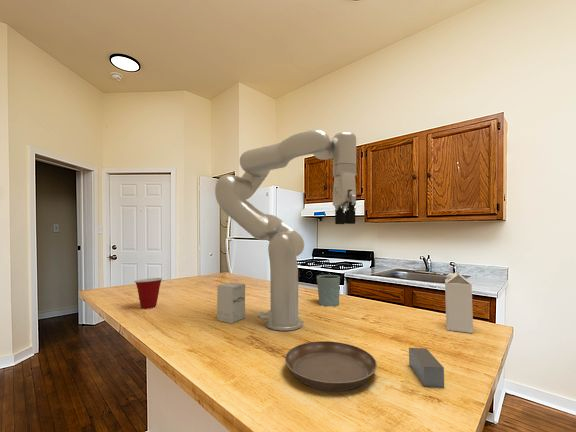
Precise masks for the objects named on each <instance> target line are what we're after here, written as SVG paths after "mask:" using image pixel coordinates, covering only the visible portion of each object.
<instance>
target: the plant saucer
mask: <svg viewBox="0 0 576 432" xmlns="http://www.w3.org/2000/svg"><path fill="white" fill-rule="evenodd" d="M284 362H285V364H286V367H287V368H288V369H289V371H290V372H291V373H292V375H293V376H294V377H295V378H296V379H298V380H299V382H301V383H303V384H305V385H307V386H309V387H311V388H314V389H316V390H317V389H318V390H323V391H329V390H330V391H331V392H332V391H333V392H340V391H348V390H352V389H356V388H358V387H360V386H362V385H364V384H365V383H366V382H368V381H369V380H370V379H371V377H373V375H374V374H375V372H376V370H377V368H378V363H377V361H376V359H375V357H374V356H373V355H372V354H371V353H369V351H366V350H364V349H363V348H360V347H359V346H355V345H353V344H348V343H344V342H338V341H328V340H327V341H326V340H325V341H324V340H321V341H319V340H318V341H310V342H306V343H305V342H304V343H302V344H298V345H296V346H294V347H292V348H290V350H288V351H287V352H286V354H285V357H284ZM330 391H329V392H330Z"/></svg>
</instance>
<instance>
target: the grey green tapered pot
mask: <svg viewBox="0 0 576 432" xmlns="http://www.w3.org/2000/svg"><path fill="white" fill-rule="evenodd" d="M316 283H317V294H318V304H319V305H320V306H322V305H323V307H327V306H333V307H337V306H339V305H340V287H341V286H340V283H341V276H340V275H338V274H337V275H336V274H335V275H334V274H319V275H316Z"/></svg>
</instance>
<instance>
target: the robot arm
mask: <svg viewBox="0 0 576 432" xmlns="http://www.w3.org/2000/svg"><path fill="white" fill-rule="evenodd" d="M308 155H313V156H314V157H315V158H316V159H318V160H322V161H324V160H330V159H332V177H333V178H334V179H333V188H332V206H333V207H334V208H335V209H334V213H335V214H334V216H335V217H334V218H335V219H334V221H335V222H334V223H335V225H347V224H348V225H355V224H356V209H357V207H356V204H357V190H356V189H357V187H356V186H357V184H356V177H357V136H356V135H355V133H353V132H349V131H344V132H343V131H341V132H338V133H336V134H334V136H333V137H330V136H329V134H328V133H326V132H325V131H324V130H322V129H311V130H307V131H303V132H299V133H298V132H297V133H295V134H292V135H290V136H288V137H287V138H285V139H283V140H282V141H280V142H278V143H274V144H270V145H265V146H261V147H257V148H253V149H249V150H246V151H244V152H243V153H241V155H240V157H239V166H240V168H241V170H242V171H244V173H243V174H242V176H241V177H240V176H237V175H235V174H225V175H222V176H220V177H219V178H218V180H216V184H215V190H214V193H215V194H214V195H215V199H216V203H217V204H218V206H219V207H220V209H221V210H222V211H223V212H224V213H225V214H226V215H227V216H228V217H230V219H232V220H233V221H234V222H235V223H236V224H238V225H239V226H240V227H241V228H242V229H243V230H245V231H246V232H247V233H248V234H250V236H252V237H253V238H254V239H256V240H258V241H267V242H269V243H268V248H267V252H268V258H269V270H270V271H269V273H270V277H269V278H270V280H269V281H270V294H269V295H270V297H269V298H270V300H269V301H270V310H267V311H266V312H265V311H258V313H257V318H259V319H260V320H266V321H265V325H266V328H268V329H270V330H274V331H284V332H286V331H294V330H299V329H301V328H302V327H303V326H304V320H302V319H301V318H299V268H298V266H299V265H298V261H297V257H298V256H300V255H302V253H303V251H304V249H305V242H304V238H303V237H302V235H301V234H299V233H298V232H297V231H296V230H295V229H293V228H292V227H291V225H290V226H289V225H288V224H287V223H286V222H285V221H284V220H282V219H280V217H278V216H276V215H273V214H268V213H264V212H262V211H261V210H260V209H258V208H257V207H256V206H254V205H253V204H252V203H250V202H249V201H247V200H249V199H250V198H251V197H252V196H254V194H255V193H256V191H258V189H259V188H260V187H261V185H262V184H263V182H264V181H265V180H266V178H267V177H268V175H269V174H270V171H273V170H277V169H282V168H286V167H287V166H288V165H289V163H290V162H291V161H293V160H294V159H297V158H299V157H302V156H308Z"/></svg>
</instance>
